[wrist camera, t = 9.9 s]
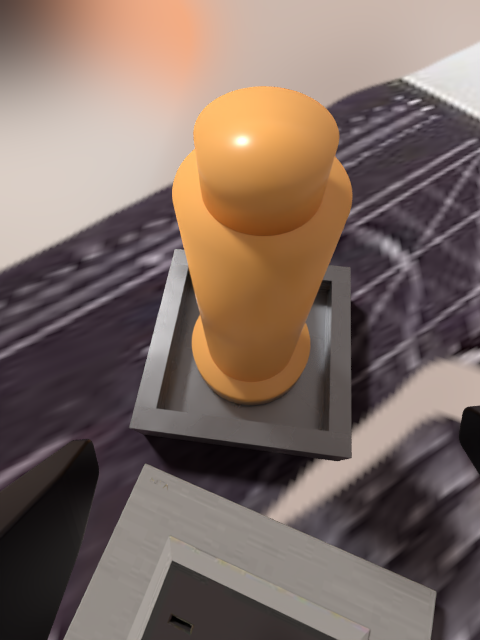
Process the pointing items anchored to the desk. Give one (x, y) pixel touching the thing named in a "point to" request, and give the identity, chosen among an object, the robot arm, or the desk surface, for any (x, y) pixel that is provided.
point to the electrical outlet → (236, 578)
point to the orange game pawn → (259, 235)
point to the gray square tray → (250, 420)
